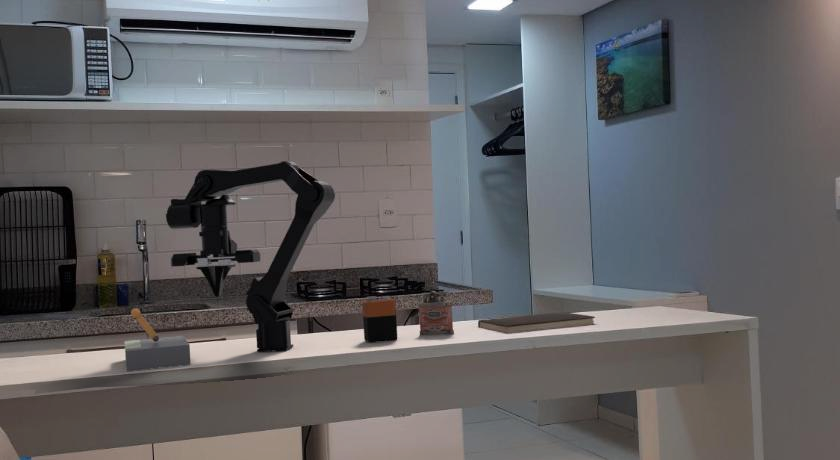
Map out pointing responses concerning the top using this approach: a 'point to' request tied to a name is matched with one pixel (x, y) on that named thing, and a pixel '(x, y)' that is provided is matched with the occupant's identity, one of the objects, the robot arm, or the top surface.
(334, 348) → the top surface
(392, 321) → the battery
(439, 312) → the red perfume bottle
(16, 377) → the top surface
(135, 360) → the block
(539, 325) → the hardcover book
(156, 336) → the lever
